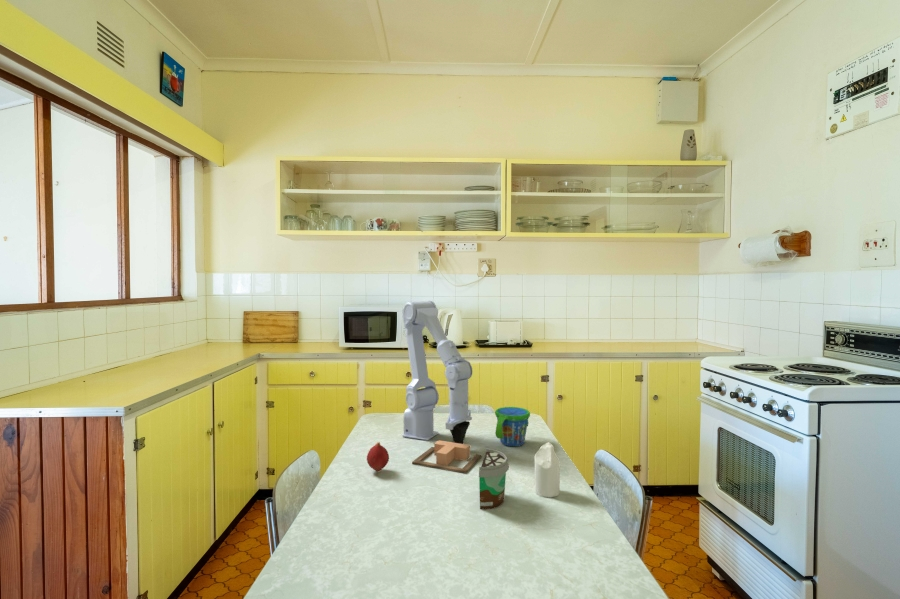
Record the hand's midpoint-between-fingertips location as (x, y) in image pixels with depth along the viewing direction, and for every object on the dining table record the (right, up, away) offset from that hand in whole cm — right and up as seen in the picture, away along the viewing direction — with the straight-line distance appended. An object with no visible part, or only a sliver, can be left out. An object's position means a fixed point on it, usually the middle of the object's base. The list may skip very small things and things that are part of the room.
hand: (458, 446), depth 140 cm
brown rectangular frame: (-3, -2, -7) cm, 8 cm away
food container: (+8, -3, -31) cm, 33 cm away
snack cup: (+17, -1, +6) cm, 18 cm away
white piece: (+21, -3, -27) cm, 34 cm away
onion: (-22, -2, -15) cm, 27 cm away
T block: (-3, -2, -7) cm, 8 cm away
